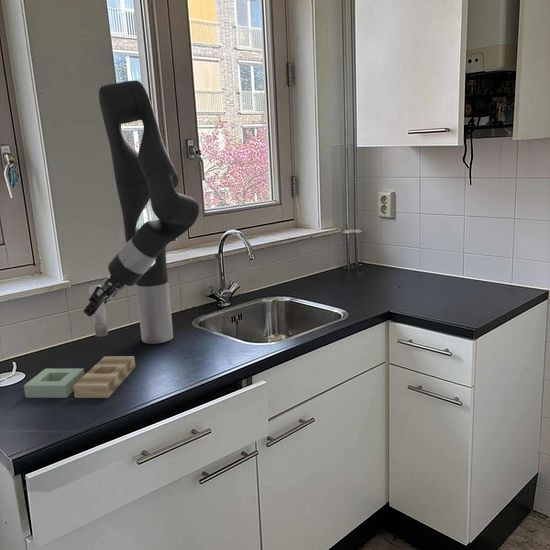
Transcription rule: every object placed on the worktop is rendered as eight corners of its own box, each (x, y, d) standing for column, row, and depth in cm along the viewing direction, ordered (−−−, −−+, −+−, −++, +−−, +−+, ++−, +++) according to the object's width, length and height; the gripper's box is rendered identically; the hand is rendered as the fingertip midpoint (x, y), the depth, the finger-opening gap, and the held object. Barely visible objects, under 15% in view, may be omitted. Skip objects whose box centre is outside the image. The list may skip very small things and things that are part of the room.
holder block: (47, 379, 139) (45, 368, 139) (85, 379, 138) (83, 368, 138) (25, 397, 130) (23, 385, 129) (66, 397, 129) (64, 385, 128)
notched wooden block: (105, 367, 146) (104, 356, 145) (135, 367, 145) (134, 356, 144) (74, 397, 128) (73, 385, 128) (108, 397, 127) (106, 385, 127)
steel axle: (98, 332, 136) (92, 284, 133) (110, 332, 135) (104, 284, 132) (93, 336, 133) (86, 287, 130) (105, 336, 132) (99, 287, 130)
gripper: (134, 244, 134) (93, 292, 140) (106, 256, 121) (63, 309, 126) (157, 265, 135) (115, 313, 140) (132, 279, 121) (87, 332, 126)
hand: (91, 311), depth 133 cm, fingers closed on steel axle, 3 cm apart
